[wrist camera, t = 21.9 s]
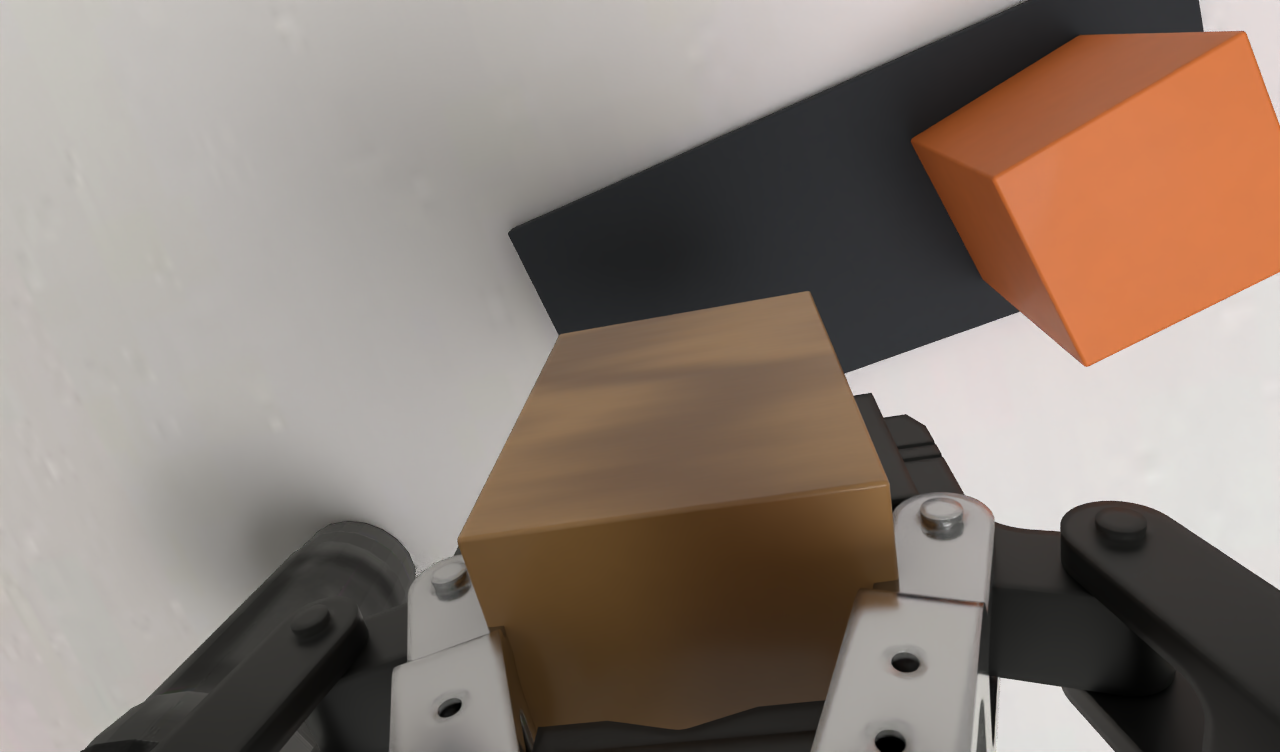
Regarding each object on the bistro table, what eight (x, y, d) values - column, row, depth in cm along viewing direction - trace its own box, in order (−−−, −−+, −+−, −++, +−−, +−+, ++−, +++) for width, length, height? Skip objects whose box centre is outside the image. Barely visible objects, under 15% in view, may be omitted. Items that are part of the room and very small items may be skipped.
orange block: (983, 281, 24) (1085, 369, 17) (908, 139, 22) (990, 178, 16) (1147, 191, 22) (1327, 250, 16) (1080, 33, 21) (1247, 28, 14)
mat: (619, 446, 28) (618, 454, 27) (510, 228, 25) (506, 233, 24) (1224, 231, 23) (1237, 235, 23) (1176, -65, 20) (1189, -68, 20)
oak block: (613, 538, 17) (559, 830, 11) (558, 333, 15) (454, 539, 9) (838, 509, 17) (922, 803, 10) (809, 289, 15) (889, 481, 8)
